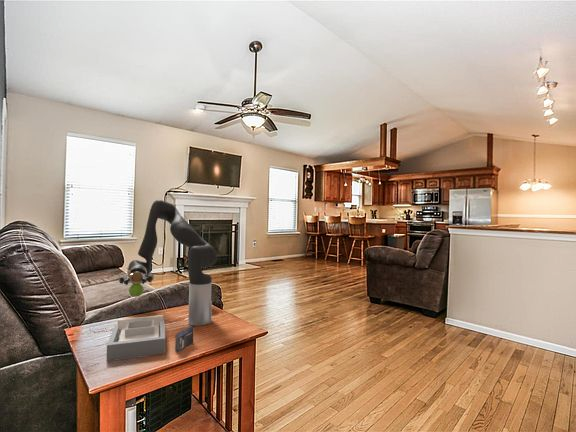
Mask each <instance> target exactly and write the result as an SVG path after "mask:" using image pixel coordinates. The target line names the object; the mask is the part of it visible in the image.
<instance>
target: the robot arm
mask: <svg viewBox="0 0 576 432" xmlns="http://www.w3.org/2000/svg"><path fill="white" fill-rule="evenodd" d="M158 219H159V220H163V221H166V222H168V223H169V224H170V227H169V231H170V234H171V235H172V237H173V238H174V239H175V241H176V242H178V243H179V244H181V245H183V246H185V247H188V248H189V250H188V253H187V259H188V260H187V261H188V263H187V265H188V267H187V268H188V269H187V270H188V273H187V274H188V278H189V285H188V286H189V288H188V291H189V292H188V318H187V319H188V320H187V321H188V325H189V326H195V327H197V326H205V325H208V324H212V315H213V314H212V312H213V309H212V308H213V307H212V306H213V301H212V279H213V278H212V276H211V275H210V274H208V273H204V272H203V269H202V268H205V267H210V266H213V265H215V264H216V262H217V260H218V255H217V251H216V249H215V248H214V246H213V245H211V244H210V243H209V242H208V241H206V240H205V239H204V238H203V237H202V236H201V235H200V234H199V233H198V232H197V231H196V230H195V229H194V228H193V227H192V225H191V224H190V223H188V220H186V219H185V218H184V217H183V216H182V215H181V213H180V211H178V209H177V208H176V206H175V205H174V204H172V203H170V202H168V201H165V200H162V199H156V200H155V201H153V203H152V205H151V207H150V209H149V213H148V218H147V222H146V227H145V233H144V237H143V238H142V241H141V244H140V247H139V249H138V252H137V255H138V256H140V257H141V258H143V259H144V260H145V262H144V261H142V260H141V261H140V260H139V259H134V260H132V261H130V262H129V264H128V267H127V268H129V269H127V271H128V270H129V271H131V273H130V274H131V276H132V274H133V273H134V272H140V273H141V274H142V276H143V278H142V280H141V281H142V283H140V284H141V285H145V284H146V283H147V282H148V283H152V281H154V279H155V278H154V277H155V274H154V273H151V271H152V261H153V256H154V253H155V251H156V248H157V245H158V235H157V227H156V226H157V222H158ZM118 282H119V284H121V285H122V284H124V285H125V286H128V285H129V284H131V285H133V283H131V282H130V281H129V278H128V274H126V275H125V276H124V275H122V274H120V275H118Z"/></svg>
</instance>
